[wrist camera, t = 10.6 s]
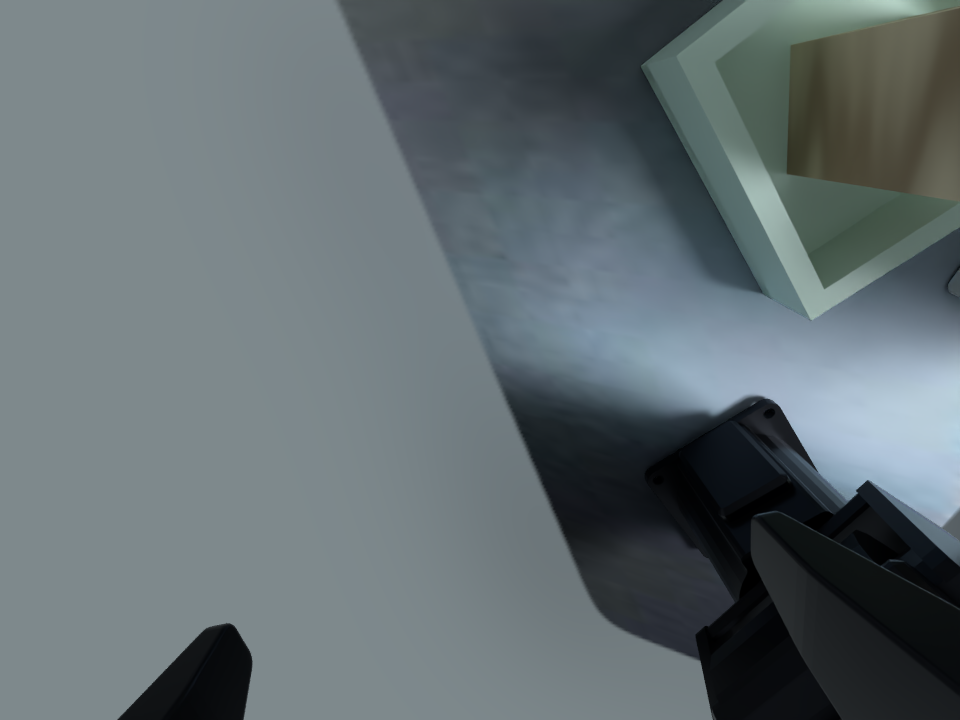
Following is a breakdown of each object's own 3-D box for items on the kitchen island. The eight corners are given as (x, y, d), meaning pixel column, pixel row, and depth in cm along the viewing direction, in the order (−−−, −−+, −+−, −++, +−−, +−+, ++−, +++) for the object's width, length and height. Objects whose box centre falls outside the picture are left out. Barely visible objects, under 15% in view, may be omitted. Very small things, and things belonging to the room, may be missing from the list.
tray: (1017, 129, 19) (1113, 130, 16) (764, 294, 21) (811, 320, 18) (936, -171, 15) (1042, -234, 13) (640, 66, 17) (676, 56, 15)
